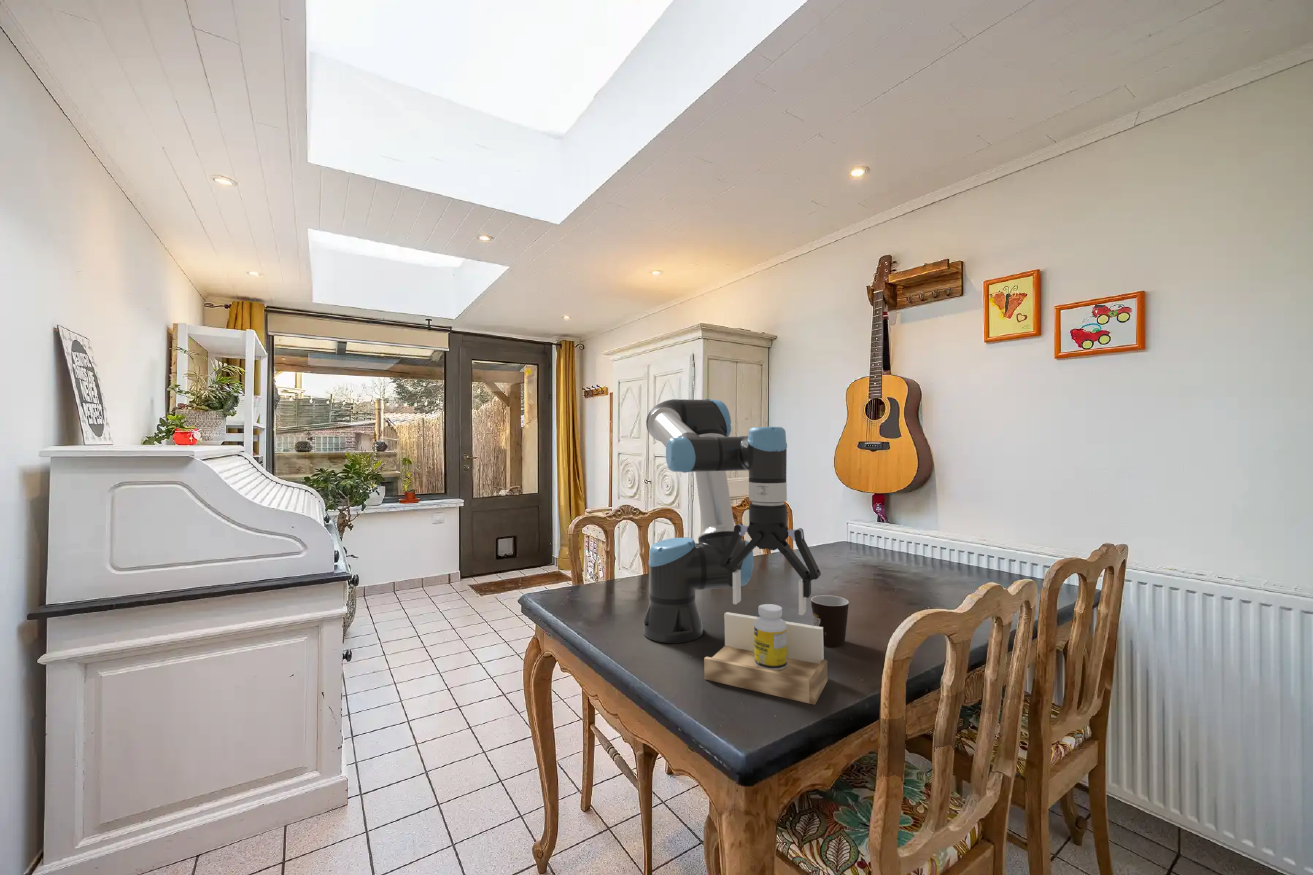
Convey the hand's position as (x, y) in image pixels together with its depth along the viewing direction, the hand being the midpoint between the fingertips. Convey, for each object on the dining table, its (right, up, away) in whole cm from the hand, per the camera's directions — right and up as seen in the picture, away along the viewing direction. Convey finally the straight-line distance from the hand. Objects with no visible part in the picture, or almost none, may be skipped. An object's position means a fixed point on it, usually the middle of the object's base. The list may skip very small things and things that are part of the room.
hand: (768, 607), depth 104 cm
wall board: (+2, -15, +5) cm, 16 cm away
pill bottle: (0, -12, -1) cm, 12 cm away
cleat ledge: (-1, -14, 0) cm, 14 cm away
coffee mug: (+19, -15, +20) cm, 31 cm away
